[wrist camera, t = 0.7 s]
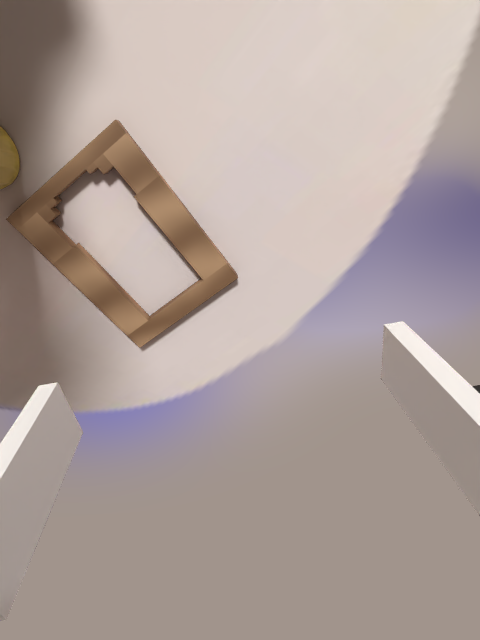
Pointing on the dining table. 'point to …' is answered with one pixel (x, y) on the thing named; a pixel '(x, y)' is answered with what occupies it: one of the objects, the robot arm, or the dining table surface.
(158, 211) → the keyhole board
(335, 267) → the dining table surface
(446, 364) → the robot arm
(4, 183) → the vase
